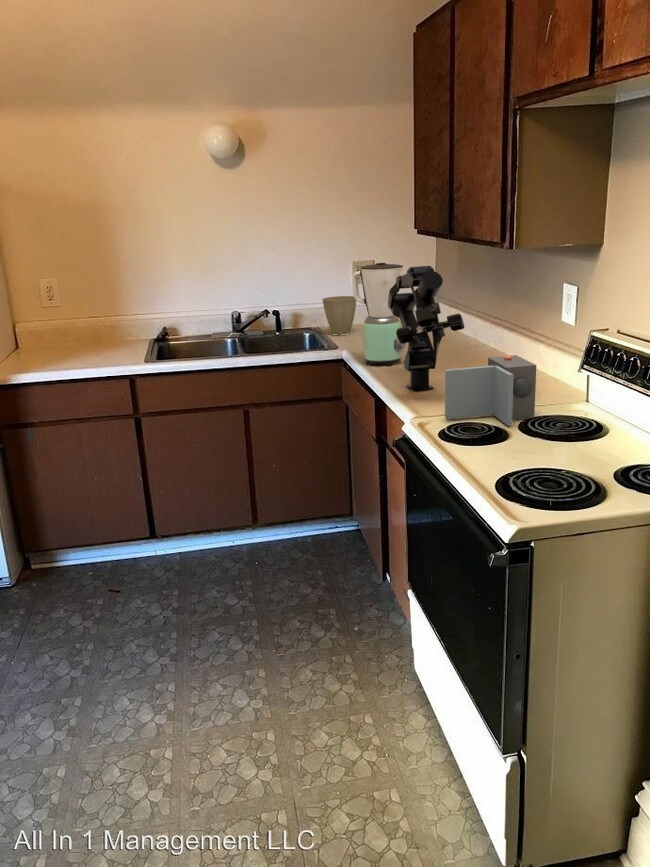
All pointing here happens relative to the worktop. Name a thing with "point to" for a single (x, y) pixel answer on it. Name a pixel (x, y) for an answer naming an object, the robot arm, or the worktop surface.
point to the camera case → (519, 384)
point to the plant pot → (340, 313)
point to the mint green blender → (379, 313)
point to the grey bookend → (479, 393)
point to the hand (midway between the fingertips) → (435, 356)
